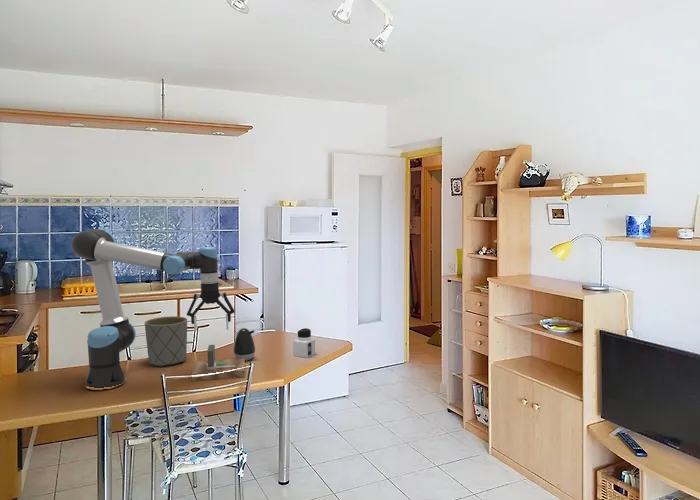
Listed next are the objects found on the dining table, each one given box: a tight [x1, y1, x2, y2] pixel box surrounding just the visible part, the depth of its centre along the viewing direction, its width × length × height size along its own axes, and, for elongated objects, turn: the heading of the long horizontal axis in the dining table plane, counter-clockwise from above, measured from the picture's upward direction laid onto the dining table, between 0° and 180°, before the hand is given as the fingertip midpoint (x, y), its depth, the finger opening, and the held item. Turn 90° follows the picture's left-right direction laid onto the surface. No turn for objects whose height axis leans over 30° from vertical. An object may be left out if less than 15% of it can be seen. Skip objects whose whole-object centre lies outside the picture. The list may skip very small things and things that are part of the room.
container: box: [293, 327, 316, 359], centre depth 263 cm, size 8×8×13 cm
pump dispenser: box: [233, 327, 256, 362], centre depth 256 cm, size 10×10×15 cm
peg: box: [206, 344, 235, 370], centre depth 233 cm, size 12×10×10 cm
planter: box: [144, 315, 188, 368], centre depth 253 cm, size 19×19×20 cm
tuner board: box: [191, 358, 246, 382], centre depth 237 cm, size 22×18×3 cm
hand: (211, 330), depth 235 cm, fingers open, 13 cm apart
